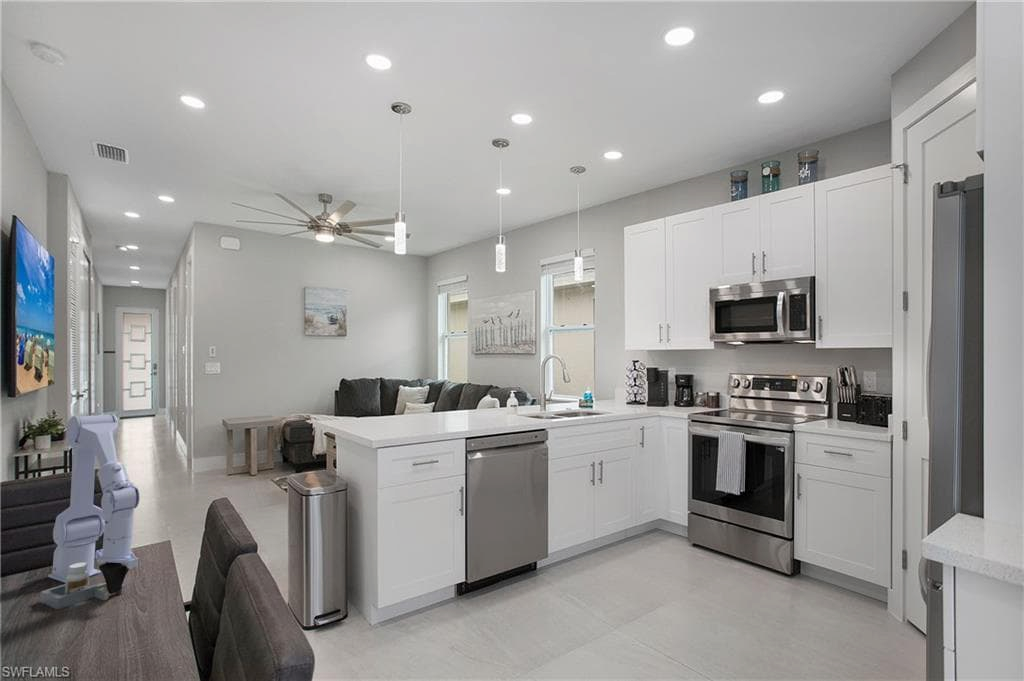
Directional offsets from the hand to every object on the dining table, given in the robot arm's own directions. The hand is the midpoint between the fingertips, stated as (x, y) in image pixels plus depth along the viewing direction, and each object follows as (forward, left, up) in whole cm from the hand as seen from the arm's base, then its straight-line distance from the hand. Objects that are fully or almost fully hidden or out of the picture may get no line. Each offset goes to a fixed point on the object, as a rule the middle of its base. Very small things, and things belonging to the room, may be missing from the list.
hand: (114, 591), depth 126 cm
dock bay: (-6, -4, -1) cm, 7 cm away
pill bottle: (-8, -4, -1) cm, 9 cm away
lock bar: (-4, 0, -1) cm, 4 cm away
